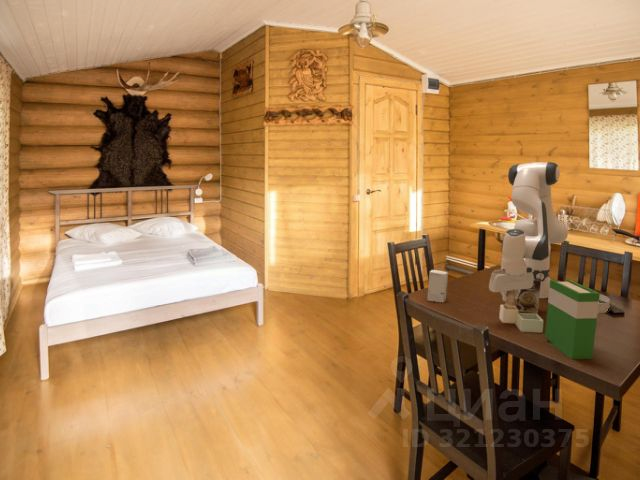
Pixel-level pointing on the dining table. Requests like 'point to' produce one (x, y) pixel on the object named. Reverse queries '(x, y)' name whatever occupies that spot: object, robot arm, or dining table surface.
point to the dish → (603, 304)
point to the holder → (529, 322)
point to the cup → (508, 314)
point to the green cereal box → (572, 318)
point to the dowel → (510, 299)
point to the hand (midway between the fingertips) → (509, 299)
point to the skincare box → (437, 286)
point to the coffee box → (529, 298)
